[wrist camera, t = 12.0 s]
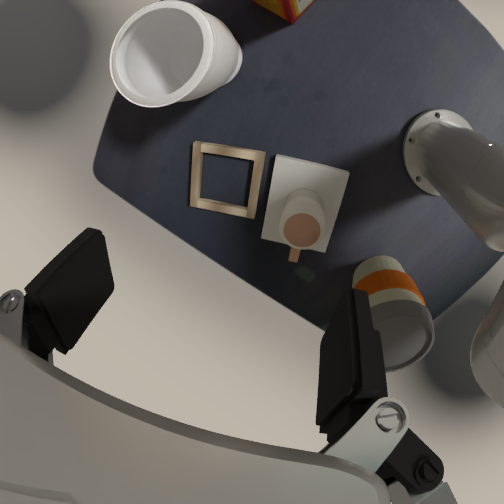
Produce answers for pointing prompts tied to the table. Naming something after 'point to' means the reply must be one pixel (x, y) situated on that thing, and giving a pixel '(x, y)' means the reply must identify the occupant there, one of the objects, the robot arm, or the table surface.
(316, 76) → the table surface
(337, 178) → the mat
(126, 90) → the jar
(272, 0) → the baking soda box
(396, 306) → the reusable coffee cup
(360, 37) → the table surface
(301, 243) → the cylinder with brown end
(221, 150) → the wooden square frame
